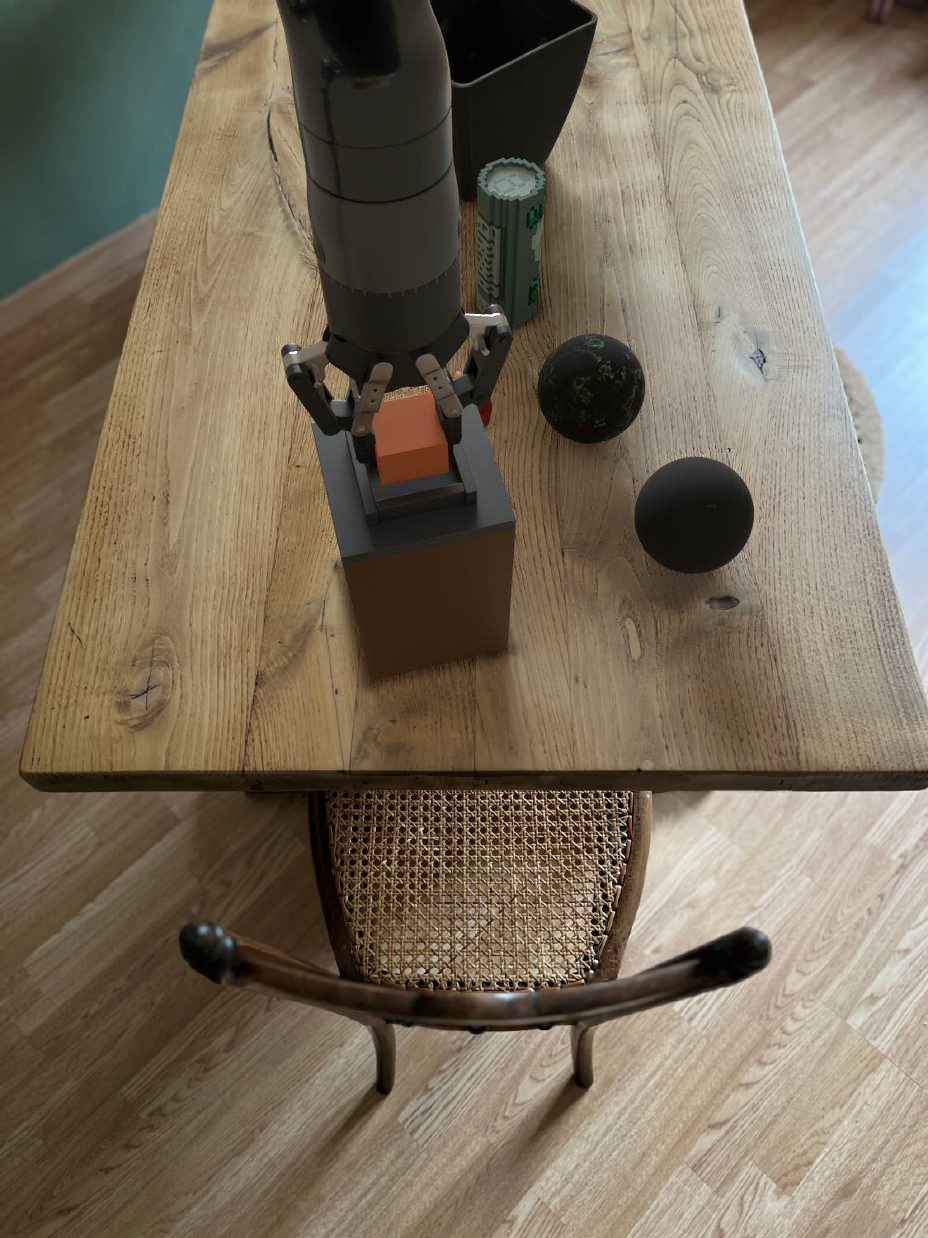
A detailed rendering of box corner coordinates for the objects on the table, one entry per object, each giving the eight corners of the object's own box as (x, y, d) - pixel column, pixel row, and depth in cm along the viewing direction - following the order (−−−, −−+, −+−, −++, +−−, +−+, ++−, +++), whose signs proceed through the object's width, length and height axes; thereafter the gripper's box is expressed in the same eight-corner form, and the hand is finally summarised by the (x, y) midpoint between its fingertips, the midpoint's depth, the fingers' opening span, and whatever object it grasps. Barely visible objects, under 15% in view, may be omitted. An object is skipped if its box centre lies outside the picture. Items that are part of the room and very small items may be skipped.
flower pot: (463, 232, 104) (460, 85, 90) (365, 152, 111) (348, 3, 97) (586, 165, 110) (603, 15, 95) (486, 92, 117) (487, -57, 102)
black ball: (753, 583, 81) (787, 518, 73) (645, 604, 80) (666, 540, 72) (715, 494, 86) (742, 422, 77) (612, 513, 85) (628, 443, 76)
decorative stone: (574, 371, 94) (584, 293, 85) (656, 419, 91) (675, 343, 82) (513, 430, 90) (517, 355, 81) (596, 482, 87) (610, 410, 78)
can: (546, 311, 98) (557, 185, 85) (497, 333, 96) (501, 208, 83) (515, 278, 101) (521, 150, 87) (467, 298, 99) (466, 171, 86)
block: (382, 486, 61) (377, 458, 58) (368, 434, 63) (363, 404, 61) (449, 472, 62) (447, 443, 59) (433, 421, 64) (431, 391, 61)
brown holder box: (370, 681, 77) (338, 546, 59) (343, 564, 83) (307, 409, 65) (507, 649, 78) (517, 508, 61) (472, 536, 84) (472, 376, 66)
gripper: (501, 169, 50) (495, 391, 65) (239, 214, 48) (295, 430, 63) (541, 260, 46) (524, 473, 61) (259, 312, 45) (313, 517, 60)
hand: (407, 450), depth 62 cm, fingers closed on block, 4 cm apart
